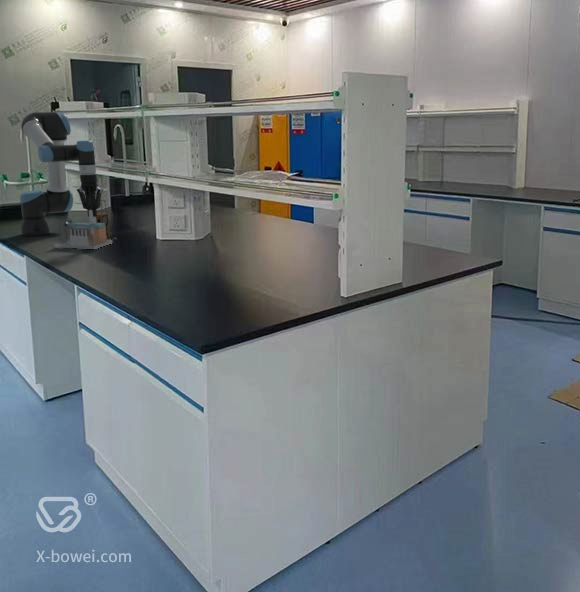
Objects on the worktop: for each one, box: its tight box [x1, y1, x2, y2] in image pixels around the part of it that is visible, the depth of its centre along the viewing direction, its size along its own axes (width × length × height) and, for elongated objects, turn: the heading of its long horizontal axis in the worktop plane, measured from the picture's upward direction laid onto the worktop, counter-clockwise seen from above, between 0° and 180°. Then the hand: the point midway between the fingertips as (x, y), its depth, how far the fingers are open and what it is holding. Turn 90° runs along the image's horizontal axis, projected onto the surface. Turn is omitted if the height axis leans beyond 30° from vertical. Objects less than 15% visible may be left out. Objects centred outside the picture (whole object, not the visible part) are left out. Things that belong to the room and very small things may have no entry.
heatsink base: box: [54, 219, 114, 251], centre depth 305 cm, size 22×16×12 cm
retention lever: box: [64, 221, 105, 228], centre depth 304 cm, size 21×6×2 cm, turn 74°
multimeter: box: [96, 199, 117, 240], centre depth 323 cm, size 15×10×20 cm
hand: (93, 223), depth 302 cm, fingers closed
